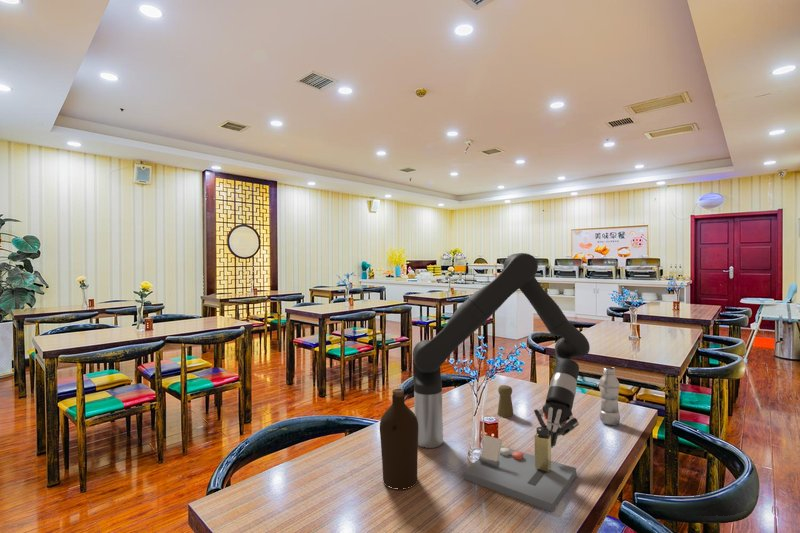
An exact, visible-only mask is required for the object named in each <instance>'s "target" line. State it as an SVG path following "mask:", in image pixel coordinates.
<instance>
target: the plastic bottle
mask: <svg viewBox="0 0 800 533" xmlns="http://www.w3.org/2000/svg"><path fill="white" fill-rule="evenodd" d="M602 373H603V375H602V376H601V377H600V378H599V380H598V385H599V391H600V409H599V420H600V421H601V423H602V424H604V425H608V426H617V425H618V424H619V423H620V421H621V414H620V411H619V391H620V382H619V380H618V378H617V377H616V368H615V367H612V366H603V371H602Z"/></svg>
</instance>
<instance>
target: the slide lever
mask: <svg viewBox="0 0 800 533" xmlns="http://www.w3.org/2000/svg"><path fill="white" fill-rule="evenodd" d="M535 431H536V434H534V456H535V468H537V469H540V470H543V471H547V472H549V470H550V469H551V461H552V448H551V436H549V429H548V428H545V427H541V426H537V427H536V430H535Z"/></svg>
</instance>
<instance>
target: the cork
mask: <svg viewBox="0 0 800 533" xmlns="http://www.w3.org/2000/svg"><path fill="white" fill-rule="evenodd" d="M497 392H498V394H499V399H498V406H497V407H498V408H497V416H499V417H500V418H507V419H509V418H513V417H514V415H515V413H514V408H513V401H512V394H513V388H512V387H511V386H510V385H507V384H503V385H500V386H498V389H497Z"/></svg>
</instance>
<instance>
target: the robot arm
mask: <svg viewBox="0 0 800 533" xmlns="http://www.w3.org/2000/svg"><path fill="white" fill-rule="evenodd" d="M538 269H539V264H538V261H537V259H536V257H535V256H534V255H532V254H529V253H527V252H526V253H525V252H524V253H523V252H520V253H514V254H511V255H509V256H507V257H506V259H505V260H504V262H503V270H502V271H501V272H499V275H497V276H496V277H495V278H494V279H493V280H492V281H490V282H489V283H487V284H486V285H484V286H482V287H481V288H480V289H478V290H476V291H475V292H473V293H471V295H470V296H468V298H466V300H464V301H463V302H462V303H461V305H459V306H458V307H457V309H456V310H455V311H454V312H453V314H452V315H451V316H450V318H449V319H448V321H447V323H446V324H445V326H444V327H443V328H442V329H441V330H440V331H439V332H438V333H437V334H436V335H434V336H433V338H431V339H424V340H420V341H418V342H417V343H416V344H415V346H414V347H413V351H412V377H413V396H414V400H413V401H414V402H413V403H414V405H413V406H414V412H413V413H414V414H415V416H416V418H417V421H418V445H419V446H418V447H420V448H424V447H425V448H426V449H434V448H438V447H440V446H442V445H443V443H444V427H443V426H444V422H443V421H444V420H443V419H444V418H443V417H444V415H443V413H444V412H443V382H442V374H441V371H442V370H441V366H442V365H443V364H444V363H445V361H447V359H448V358H449V357H450V356H451V355H452V354H453V352H454V351H455V350H456V349H458V347H459V346H460V345H461V344H462V343H464V342H465V341H466V340H467V339H468V338H469V337H470V336H472V334H474V332H476V331H477V330H478V329H479V328H480V327H482V326H483V325H484V323H485V322H486V321H488V319H489V318H490V317H492V315H493V314H495V313H496V312H497V311H498V309H499V308H500V307H501V306H502V305H503V304H504V303H505V302H506V301H507V300H508V299H509V298H510V297H511V296H512V295H514V293H515V292H517V291H518V290H520V291H521V292H522V294H523V295H524V296H525V298H526V299H527V301H528V302H529V303H530V305H531V306H532V307H533V308H532V309H534V310H535V312H536V314H537V315H538V317H539V318H540V320H541V322H543V325H544V326H545V328H546V329H547V331H548V332H549V333H550V334H551V335H552V336H556V337H558V336H559V337H560V338H559V339H558V340H557V341H556V342H555V345H554V355H555V357H554V358H555V367H554V370H553V375H552V378H551V379H550V383H549V388H548V391H547V395H546V398H545V403H544V404H543V405H542V408H541V409H536V408H535V409H534V410H533V412H534V414H535V416H536V419H537V420H538V424H540V427H545V428H548V429H549V436H551V449H553V448H554V447H555V446H556V445H557V441H558V436H563V437H564V436H565V435H567V434H568V433H569V432H571V431H572V430H574V429H575V428H576V427H578V426H579V422H578V419H577V418H576V417H574V415H573V412H572V410H573V406H574V400H575V398H576V397H575V396H576V394H577V393H576V392H577V382H578V378H579V372H580V366H579V364H578V363H577V362H576V361H575V360H573V359H572V358H579V357H580V358H581V357H585V356H588V354H589V352H590V350H591V348H590V342H589V340H588V338H587V337H586V336H585V335H584V334H583V333H582V331H580V330H579V329H578V328H577V327H575V326H574V324H572V323H571V322H570V321H569V320H568V318H567V317H566V315H565V314H564V312H563V311H562V309H561V308H560V306H559V305H558V304H557V303H556V301H555V300H554V299H553V298H552V297H551V296H550V295H549V294H548V292H547V291H546V290H544V288H543V287H542V286H541V284H540V283H539V281H538V280H537V278H536V277H535V276H536V274H537V272H538ZM544 414H545V416H546V418H547V419H546V420H547V421H546V422H547V424H546V423H545V421H544V419H543V417H544Z"/></svg>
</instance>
